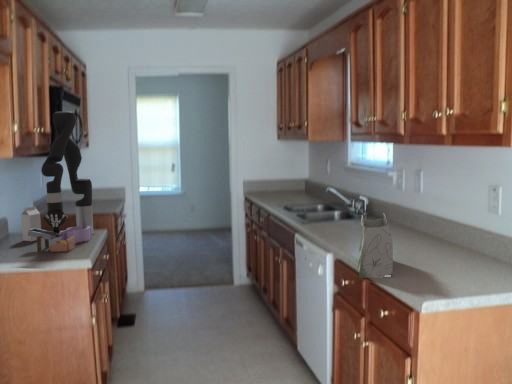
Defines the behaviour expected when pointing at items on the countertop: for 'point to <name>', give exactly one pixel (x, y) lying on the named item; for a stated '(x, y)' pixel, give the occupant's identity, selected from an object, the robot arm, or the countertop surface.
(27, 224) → the milk carton
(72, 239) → the cup
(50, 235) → the tipping track
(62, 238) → the clip
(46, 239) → the stand
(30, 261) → the countertop surface
